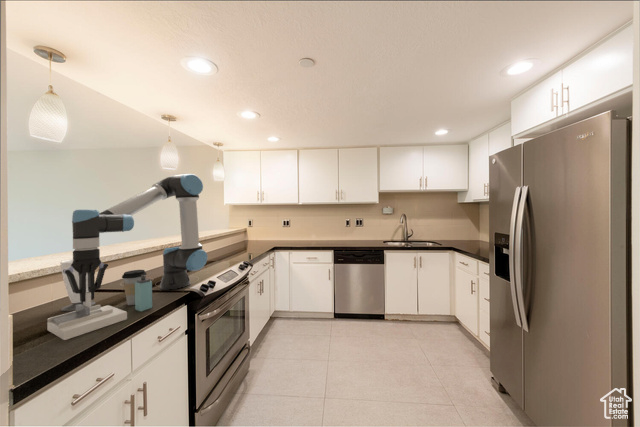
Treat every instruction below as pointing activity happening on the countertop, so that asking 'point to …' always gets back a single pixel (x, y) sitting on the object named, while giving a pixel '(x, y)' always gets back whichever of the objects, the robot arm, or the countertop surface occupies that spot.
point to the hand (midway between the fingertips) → (87, 309)
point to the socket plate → (86, 321)
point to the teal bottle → (143, 294)
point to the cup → (73, 296)
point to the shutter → (74, 314)
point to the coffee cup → (131, 284)
